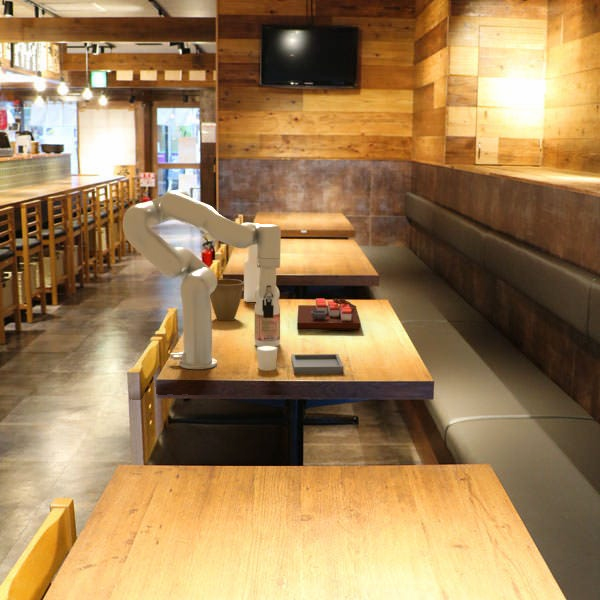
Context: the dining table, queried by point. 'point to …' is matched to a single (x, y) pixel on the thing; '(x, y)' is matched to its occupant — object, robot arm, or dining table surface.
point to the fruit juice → (267, 322)
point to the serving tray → (316, 364)
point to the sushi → (328, 316)
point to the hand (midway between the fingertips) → (267, 314)
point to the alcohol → (251, 274)
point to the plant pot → (226, 298)
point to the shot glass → (267, 357)
